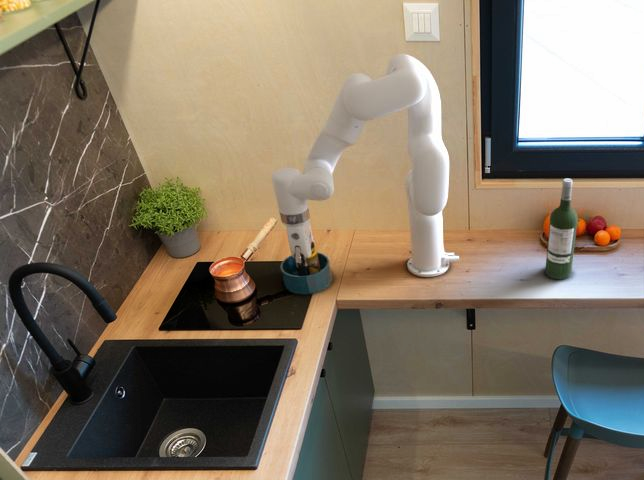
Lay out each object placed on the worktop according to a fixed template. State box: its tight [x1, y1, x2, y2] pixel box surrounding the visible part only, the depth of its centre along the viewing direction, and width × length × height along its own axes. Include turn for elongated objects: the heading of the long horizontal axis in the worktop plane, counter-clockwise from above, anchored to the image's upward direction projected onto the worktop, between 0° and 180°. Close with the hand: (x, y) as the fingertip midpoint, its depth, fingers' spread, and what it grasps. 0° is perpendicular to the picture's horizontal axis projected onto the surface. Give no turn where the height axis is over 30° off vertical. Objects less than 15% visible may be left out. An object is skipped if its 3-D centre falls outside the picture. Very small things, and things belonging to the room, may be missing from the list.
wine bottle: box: [544, 177, 579, 280], centre depth 172 cm, size 8×8×30 cm
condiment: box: [296, 241, 321, 276], centre depth 170 cm, size 7×8×12 cm
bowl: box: [280, 251, 333, 295], centre depth 172 cm, size 13×13×6 cm
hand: (306, 270), depth 172 cm, fingers closed on condiment, 6 cm apart
